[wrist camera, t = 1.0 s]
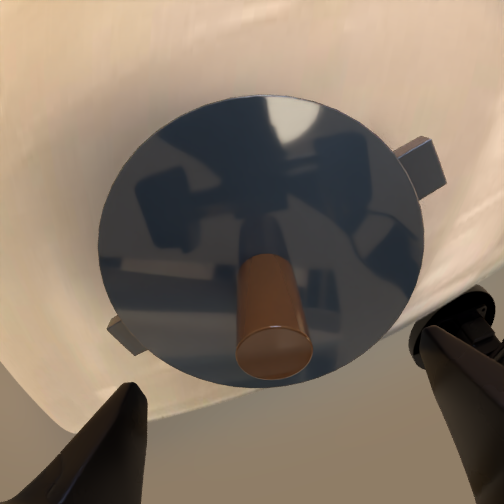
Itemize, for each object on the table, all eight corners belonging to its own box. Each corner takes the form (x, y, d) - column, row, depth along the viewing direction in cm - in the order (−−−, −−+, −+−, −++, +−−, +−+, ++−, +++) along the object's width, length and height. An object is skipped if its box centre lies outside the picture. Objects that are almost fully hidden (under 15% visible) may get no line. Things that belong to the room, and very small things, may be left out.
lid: (441, 295, 16) (491, 363, 11) (225, 401, 19) (223, 478, 14) (324, 31, 10) (381, -8, 5) (52, 225, 13) (-16, 289, 8)
